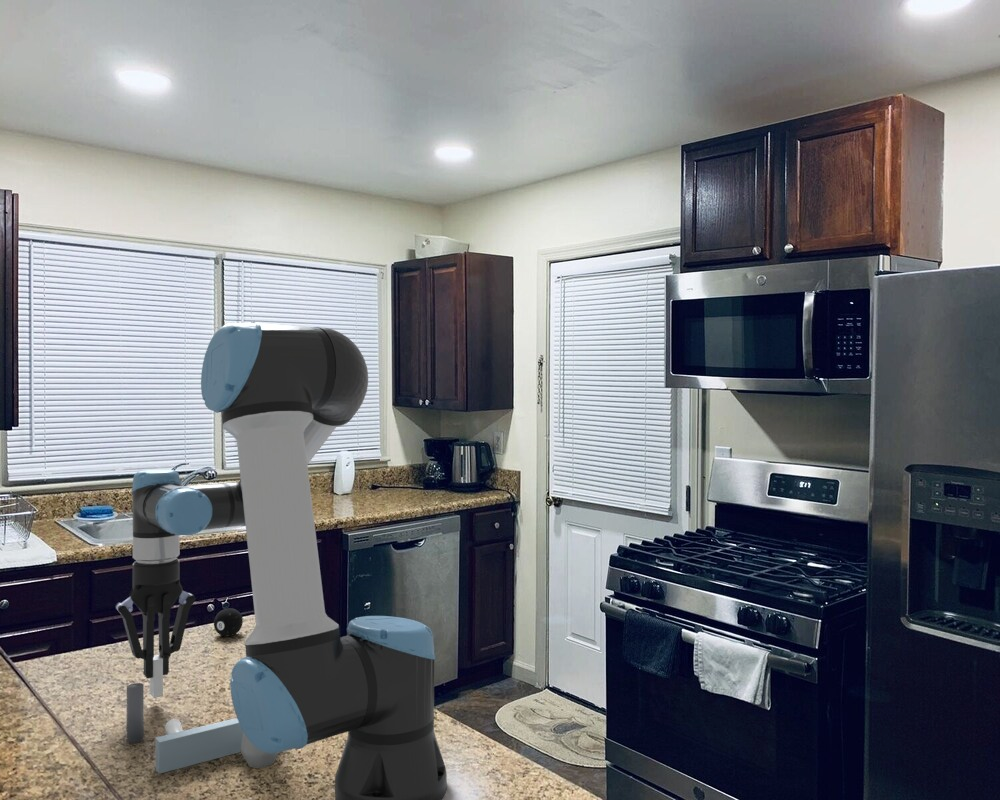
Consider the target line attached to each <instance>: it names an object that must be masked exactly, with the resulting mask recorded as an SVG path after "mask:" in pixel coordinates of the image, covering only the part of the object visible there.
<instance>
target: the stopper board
mask: <svg viewBox="0 0 1000 800" xmlns="http://www.w3.org/2000/svg"><path fill="white" fill-rule="evenodd" d="M242 738H243V730H242V728H241V726H240V724H239V721H238V719H237V717H235V718H231V719H228V720H223V721H218V722H215V723H210V724H206V725H203V726H202V725H201V726H198V727H193V728H190V729H185V730H183V731H181V732H176V733H172V734H168V735H166V734H165V735H160V736H156V737H155V738H154V739H155V746H154V747H155V752H154V753H155V757H154V758H155V760H154V761H155V766H154V767H155V770H156V772H157V773H158V774H159V775H160V774H164V773H167V772H172V771H174V770H179V769H182V768H186V767H191V766H194V765H197V764H198V765H199V764H201V763H205V762H209V761H213V760H215V759H216V760H217V759H221V758H224V757H227V756H230V755H235V754H239V753H241V743H242Z"/></svg>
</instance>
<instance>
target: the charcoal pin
mask: <svg viewBox="0 0 1000 800" xmlns="http://www.w3.org/2000/svg"><path fill="white" fill-rule="evenodd" d="M144 685H145V684H144V683H140V682H136V683H130V684H128V685H127V686H126V743H128V744H130V743H131V744H132V743H133V744H137V743H138V744H139V743H140V741H141V742H143V741H142V740H144V735H145V734H144V731H145V730H144V727H145V726H144V724H145V723H144V713H145V711H144V708H145V705H144V703H145V702H144V701H145V700H144V697H145V696H144V694H145V693H144V691H145V690H144V689H145V688H144Z"/></svg>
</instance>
